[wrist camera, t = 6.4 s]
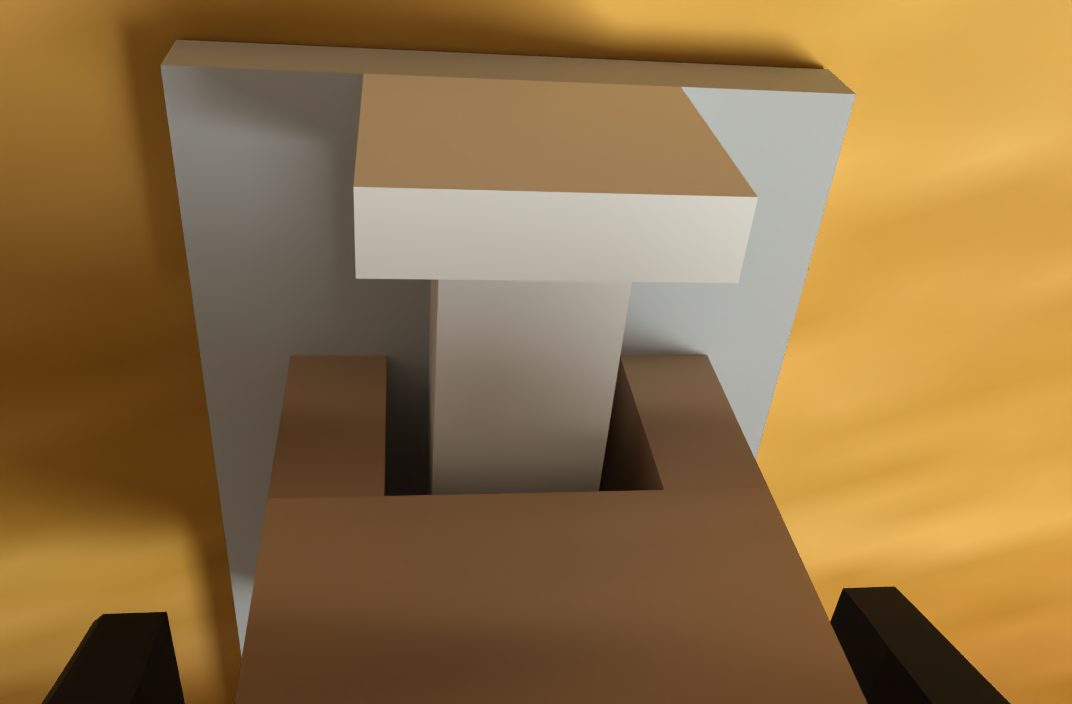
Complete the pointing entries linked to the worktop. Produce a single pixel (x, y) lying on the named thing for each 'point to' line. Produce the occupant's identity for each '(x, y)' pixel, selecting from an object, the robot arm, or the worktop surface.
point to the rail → (485, 246)
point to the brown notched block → (532, 565)
